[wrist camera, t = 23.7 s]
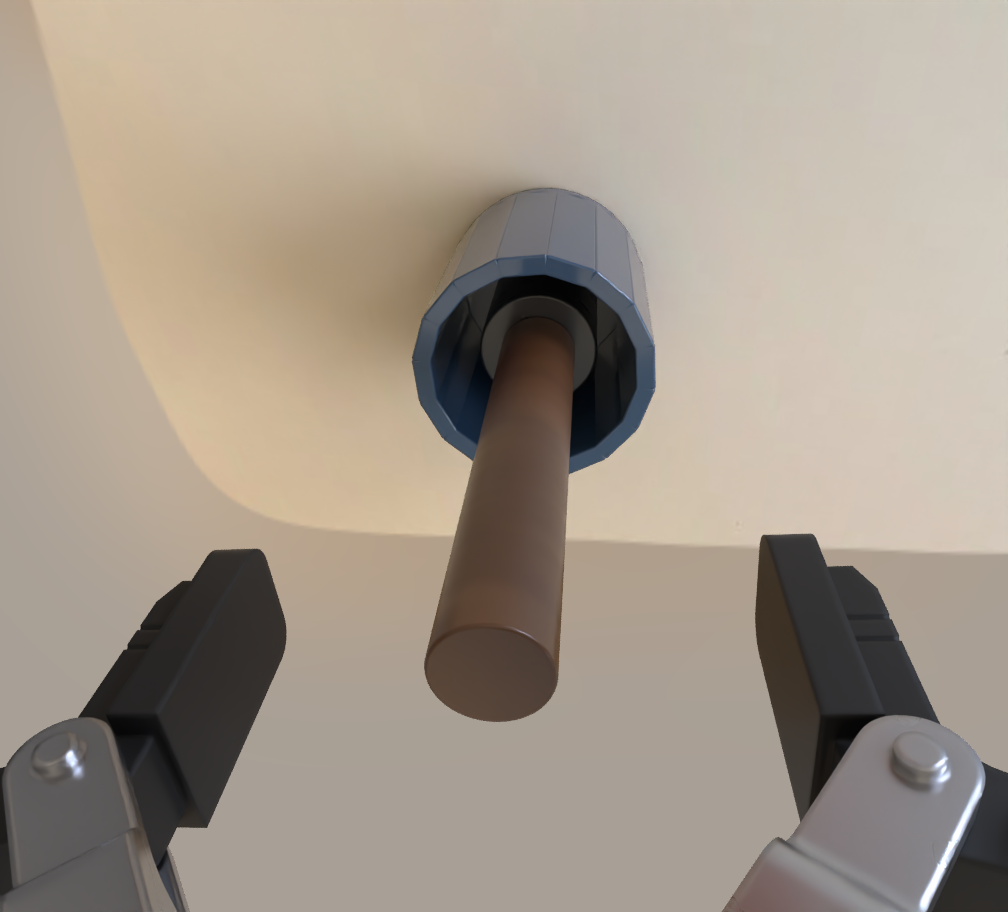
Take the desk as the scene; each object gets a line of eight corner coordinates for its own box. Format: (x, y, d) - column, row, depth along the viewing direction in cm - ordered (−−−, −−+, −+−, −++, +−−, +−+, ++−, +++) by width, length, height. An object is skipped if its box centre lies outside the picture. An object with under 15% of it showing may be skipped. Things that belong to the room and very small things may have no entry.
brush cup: (465, 375, 29) (432, 482, 23) (440, 197, 26) (394, 266, 20) (644, 364, 28) (657, 472, 22) (639, 178, 25) (653, 246, 19)
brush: (503, 338, 28) (403, 749, 13) (492, 244, 26) (364, 595, 12) (599, 332, 27) (604, 751, 13) (594, 235, 26) (593, 590, 11)
